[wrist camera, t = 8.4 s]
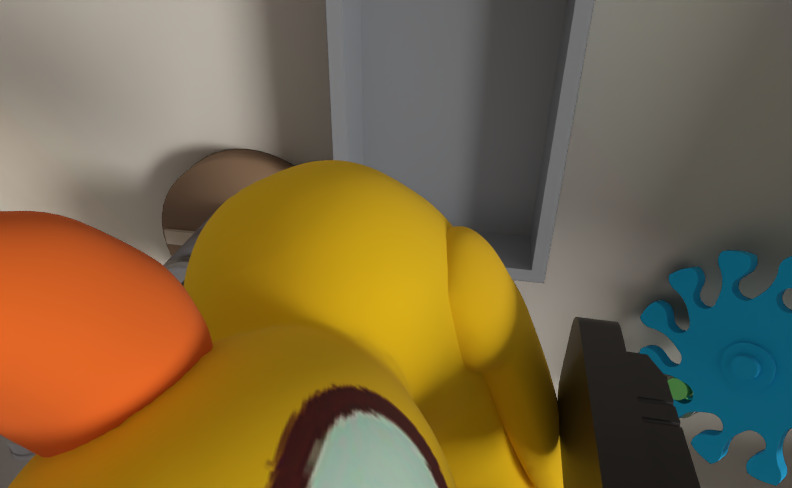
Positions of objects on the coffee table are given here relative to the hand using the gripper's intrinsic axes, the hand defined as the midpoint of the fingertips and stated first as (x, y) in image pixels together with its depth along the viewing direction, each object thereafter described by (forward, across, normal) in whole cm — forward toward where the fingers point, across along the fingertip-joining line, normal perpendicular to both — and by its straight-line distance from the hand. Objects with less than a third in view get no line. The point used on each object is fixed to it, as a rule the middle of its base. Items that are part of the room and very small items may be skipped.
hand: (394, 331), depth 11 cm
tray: (+16, 0, 0) cm, 16 cm away
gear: (+16, -13, +10) cm, 24 cm away
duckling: (+2, 0, 0) cm, 3 cm away
